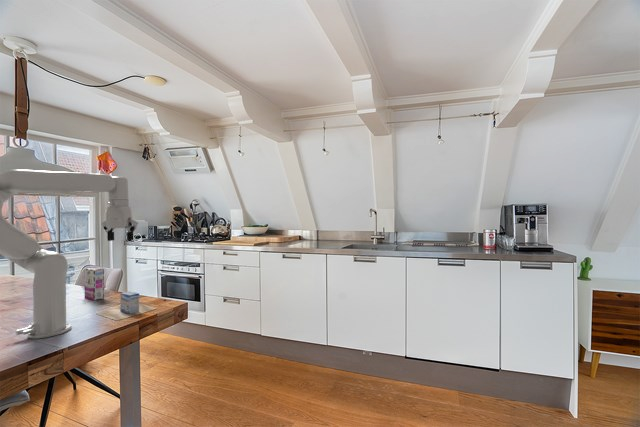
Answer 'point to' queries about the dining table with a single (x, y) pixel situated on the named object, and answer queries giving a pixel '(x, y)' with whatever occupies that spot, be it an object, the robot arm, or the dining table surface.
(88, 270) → the candy bar box
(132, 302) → the medicine box
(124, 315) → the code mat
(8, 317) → the dining table surface
